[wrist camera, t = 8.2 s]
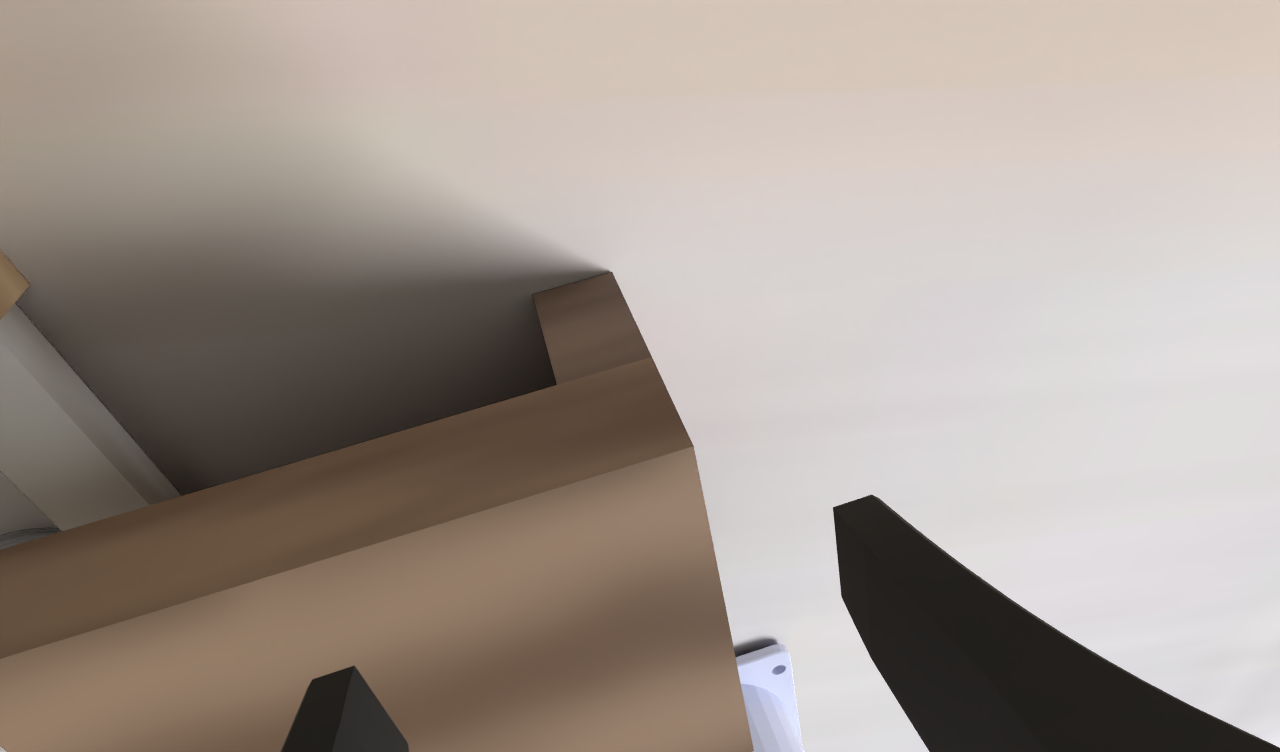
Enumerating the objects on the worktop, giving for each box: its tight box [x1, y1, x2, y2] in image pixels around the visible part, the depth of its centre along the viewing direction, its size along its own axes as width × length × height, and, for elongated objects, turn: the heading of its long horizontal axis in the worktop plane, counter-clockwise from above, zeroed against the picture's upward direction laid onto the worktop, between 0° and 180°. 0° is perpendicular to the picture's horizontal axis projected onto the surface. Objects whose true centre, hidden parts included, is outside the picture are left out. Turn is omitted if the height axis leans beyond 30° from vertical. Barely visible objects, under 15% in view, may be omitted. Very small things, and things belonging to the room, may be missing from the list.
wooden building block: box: [0, 250, 182, 531], centre depth 17 cm, size 15×3×6 cm, turn 16°
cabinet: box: [0, 272, 754, 752], centre depth 19 cm, size 10×13×7 cm
